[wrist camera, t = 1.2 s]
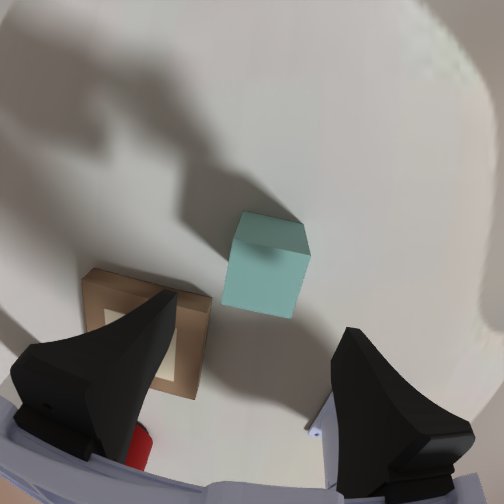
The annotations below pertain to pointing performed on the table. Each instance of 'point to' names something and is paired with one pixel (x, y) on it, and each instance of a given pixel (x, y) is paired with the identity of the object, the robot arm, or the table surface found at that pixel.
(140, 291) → the walnut base
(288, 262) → the teal block
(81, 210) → the table surface
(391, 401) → the robot arm
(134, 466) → the beverage can
